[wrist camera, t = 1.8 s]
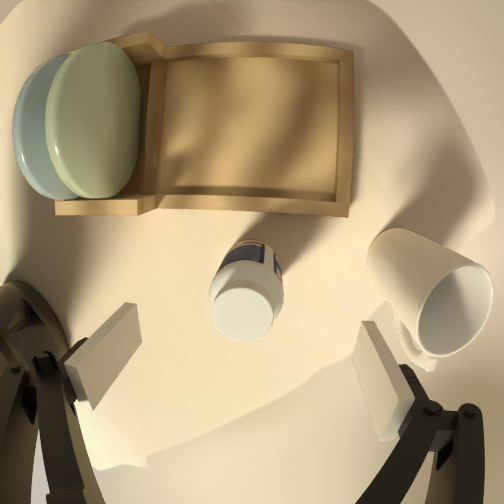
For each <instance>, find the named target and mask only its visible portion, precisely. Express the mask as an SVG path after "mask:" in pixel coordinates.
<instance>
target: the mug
mask: <svg viewBox="0 0 504 504" xmlns="http://www.w3.org/2000/svg"><path fill="white" fill-rule="evenodd" d="M366 266H367V271H368V274H369V276H370V278H371V279H372V281H373V282H374V283H375V285H376V286H377V288H378V289H379V291H380V292H381V293H382V294H383V296H384V297H385V298H386V300H387V301H388V302H389V304H390V305H391V307H392V308H393V309H394V314H393V322H394V325H395V328H396V331H397V333H398V336H399V339H400V341H401V344H402V346H403V348H404V350H405V352H406V354H407V356H408V357H409V359H410V360H411V361H412V362H413V363H415V364H416V365H418V366H420V367H423V368H424V369H425V370H426V371H428V372H429V371H433V370H435V368H436V364H437V361H438V357H445V356H449V355H452V354H454V353H456V352H458V351H460V350H462V349H463V348H465V347H466V346H467V345H468V344H469V343H471V342H472V341H473V340H474V339H475V337H476V336H477V335H478V334H479V332H480V331H481V330H482V328H483V326H484V325H485V323H486V321H487V319H488V317H489V314H490V311H491V308H492V304H493V297H494V289H493V282H492V279H491V276H490V274H489V273H488V271H487V270H486V269H485V268H484V267H483V266H481V265H480V264H477V263H475V262H473V261H472V260H470V259H468V258H466V257H464V256H462V255H460V254H458V253H456V252H454V251H452V250H450V249H448V248H446V247H444V246H442V245H440V244H438V243H436V242H433V241H431V240H429V239H427V238H425V237H423V236H421V235H419V234H416V233H414V232H411V231H409V230H406V229H403V228H392V229H388V230H386V231H384V232H382V233H381V234H380V235H378V236H377V237H376V238H375V240H374V241H373V242H372V244H371V246H370V248H369V250H368V253H367V258H366ZM410 334H411V335H412V336H413V338H414V339H415V340H416V342H417V343H418V344H419V346H420V348H421V349H422V350H423V351H422V352H420V351H419V350H417V349H416V347H415V345H414V344H413V342H412V339H411V336H410Z"/></svg>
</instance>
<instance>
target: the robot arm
mask: <svg viewBox="0 0 504 504" xmlns="http://www.w3.org/2000/svg"><path fill="white" fill-rule="evenodd" d="M141 343H142V339H141V333H140V326H139V319H138V312H137V304H134V303H127V302H125V303H124V304H123V305H122V306H121V307H120V308H119V309H118V310H117V311H116V312H115V313H114V314H113V315H112V316H111V317H110V318H109V319H108V320H107V321H106V322H105V323H104V324H103V325H102V326H100V327H99V328H98V329H97V330H96V331H95V332H94V333H93V334H92V335H91V336H90V337H89V338H86V337H85V338H83V339H81V340H79V341H78V342H77V343H76V344H75V345H74V346H73V348H71V349H70V350H69V351H68V347H67V342H66V338H65V335H64V332H63V330H62V327H61V325H60V323H59V321H58V319H57V317H56V316H55V314H54V312H53V311H52V309H51V308H50V306H49V305H48V303H47V302H46V301H45V300H44V299H43V297H42V296H41V295H40V294H39V293H38V292H37V291H36V290H35V289H33V288H32V287H31V286H29V285H28V284H26V283H24V282H22V281H18V280H12V281H9V282H7V283H6V284H4V285H2V286H0V504H31V485H32V472H33V463H34V455H35V448H36V441H37V435H38V429H39V431H40V440H41V448H42V454H43V460H44V465H45V471H46V476H47V481H48V485H49V490H50V493H49V494H46V502H47V504H105V502H104V499H103V497H102V494H101V492H100V489H99V486H98V484H97V481H96V478H95V476H94V473H93V470H92V467H91V463H90V460H89V457H88V454H87V451H86V447H85V444H84V440H83V436H82V433H81V429H80V425H79V421H78V416H77V412H76V408H75V405H74V402H75V401H76V399H78V402H79V404H80V406H81V407H83V408H86V409H88V410H91V411H93V410H94V409H95V408H96V406H97V405H98V403H99V402H100V400H101V399H102V397H103V396H104V395H105V393H106V392H107V390H108V389H109V387H110V386H111V385H112V383H113V382H114V380H115V379H116V378H117V376H118V375H119V373H120V372H121V371H122V369H123V368H124V366H125V365H126V364H127V362H128V361H129V359H130V358H131V357H132V355H133V354H134V353H135V351H136V350H137V348H138V347H139V346H140V344H141ZM352 361H353V364H354V367H355V370H356V372H357V376H358V379H359V382H360V384H361V388H362V391H363V394H364V397H365V400H366V403H367V406H368V410H369V413H370V416H371V419H372V423H373V426H374V429H375V433H376V436H377V440H378V442H382V441H390V440H394V438H395V436H396V434H397V433H399V436H400V440H399V442H398V443H397V445H396V446H395V448H394V449H393V451H392V453H391V454H390V456H389V457H388V459H387V460H386V462H385V464H384V465H383V466H382V468H381V470H380V471H379V473H378V474H377V475H376V477H375V478H374V479H373V481H372V482H371V484H370V485H369V486H368V488H367V489H366V490H365V492H364V493H363V494H362V495H361V497H360V498H359V499H358V501H357V502H356V503H355V504H400V503H401V502H402V500H403V498H404V497H405V495H406V493H407V492H408V490H409V488H410V486H411V485H412V483H413V481H414V479H415V477H416V475H417V473H418V471H419V469H420V468H421V466H422V463H423V462H424V460H425V457H426V455H427V453H428V451H432V452H434V458H433V465H432V471H431V477H430V482H429V487H428V492H427V497H426V501H425V504H483V496H484V477H485V455H484V453H485V450H484V430H483V418H482V412H481V410H480V409H479V408H478V407H477V406H476V405H474V404H470V403H466V404H463V405H461V406H460V408H459V409H458V411H446V410H443V407H442V406H441V405H440V404H439V403H437V402H435V401H431V400H429V398H428V396H427V394H426V392H425V391H424V389H423V387H422V385H421V384H420V383H419V380H418V378H416V377H417V376H416V375H415V373H414V371H413V370H412V369H411V368H410V367H409V366H408V365H406V364H402V365H398V364H397V362H396V360H395V358H394V357H393V354H392V353H391V351H390V349H389V347H388V345H387V344H386V342H385V340H384V338H383V336H382V335H381V333H380V331H379V329H378V328H377V326H376V324H375V322H374V321H361V325H360V330H359V334H358V338H357V342H356V346H355V350H354V354H353V358H352Z"/></svg>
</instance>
